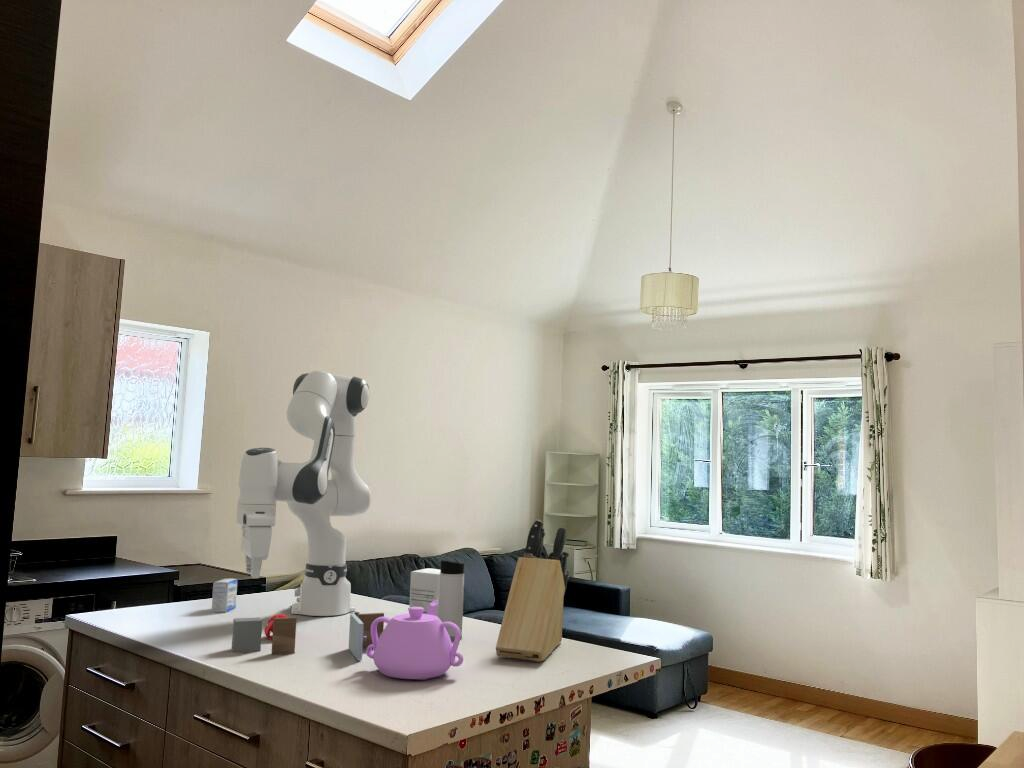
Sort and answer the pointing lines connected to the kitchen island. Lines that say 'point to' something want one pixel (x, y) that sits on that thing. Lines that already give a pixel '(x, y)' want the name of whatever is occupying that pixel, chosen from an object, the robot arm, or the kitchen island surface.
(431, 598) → the supplement box
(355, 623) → the door
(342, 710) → the kitchen island surface
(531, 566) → the knife block
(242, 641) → the block
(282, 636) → the door frame
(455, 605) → the travel mug
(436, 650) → the teapot
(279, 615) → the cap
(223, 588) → the medicine box
